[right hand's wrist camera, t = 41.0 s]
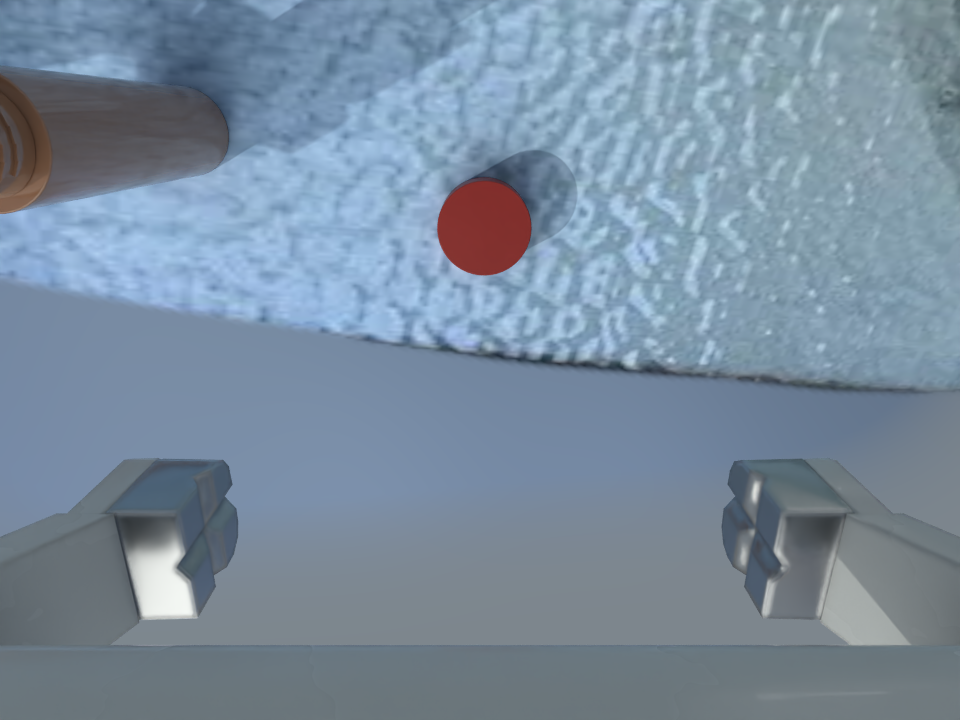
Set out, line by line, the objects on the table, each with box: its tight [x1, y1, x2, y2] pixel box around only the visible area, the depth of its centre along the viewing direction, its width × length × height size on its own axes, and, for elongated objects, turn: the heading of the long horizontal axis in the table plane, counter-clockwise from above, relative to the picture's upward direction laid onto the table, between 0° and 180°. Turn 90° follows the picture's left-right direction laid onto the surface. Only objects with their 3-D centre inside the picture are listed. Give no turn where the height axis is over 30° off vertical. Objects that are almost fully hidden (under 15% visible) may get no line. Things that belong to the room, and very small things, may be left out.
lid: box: [437, 177, 531, 275], centre depth 36 cm, size 5×5×2 cm
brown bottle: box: [0, 65, 229, 214], centre depth 27 cm, size 5×5×18 cm
